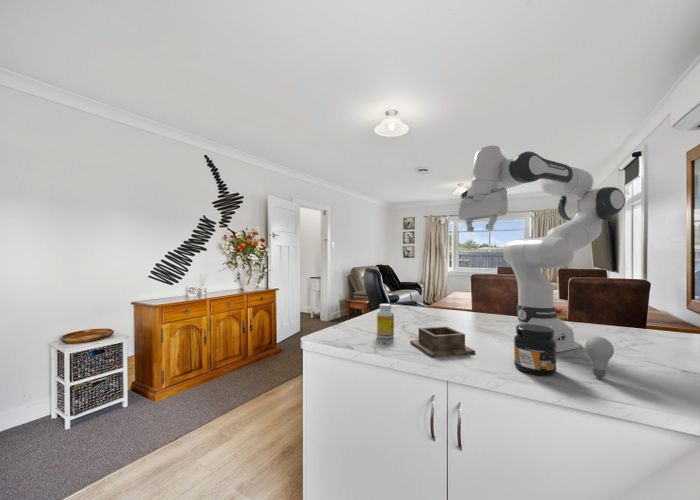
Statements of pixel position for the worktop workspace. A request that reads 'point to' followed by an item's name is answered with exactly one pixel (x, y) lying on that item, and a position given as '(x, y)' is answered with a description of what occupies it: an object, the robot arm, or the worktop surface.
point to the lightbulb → (599, 354)
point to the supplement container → (535, 349)
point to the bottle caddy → (441, 342)
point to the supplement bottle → (385, 322)
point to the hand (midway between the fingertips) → (479, 230)
